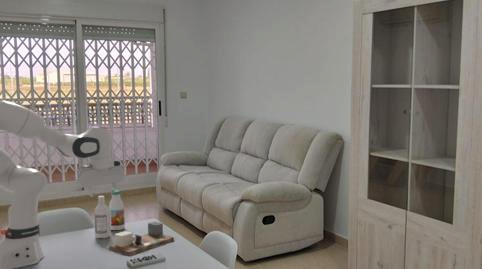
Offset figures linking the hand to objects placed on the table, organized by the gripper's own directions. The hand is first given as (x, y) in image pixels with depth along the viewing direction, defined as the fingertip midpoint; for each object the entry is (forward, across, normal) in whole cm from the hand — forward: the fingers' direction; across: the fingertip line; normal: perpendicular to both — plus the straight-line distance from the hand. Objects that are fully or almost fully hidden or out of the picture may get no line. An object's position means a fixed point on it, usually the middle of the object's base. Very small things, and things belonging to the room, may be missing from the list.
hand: (102, 194), depth 201 cm
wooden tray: (+26, +16, -4) cm, 31 cm away
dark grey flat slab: (+24, +13, -7) cm, 28 cm away
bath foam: (+26, +9, +20) cm, 34 cm away
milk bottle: (+26, +20, +27) cm, 42 cm away
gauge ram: (+24, +9, -3) cm, 26 cm away
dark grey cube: (+24, +26, +1) cm, 36 cm away
